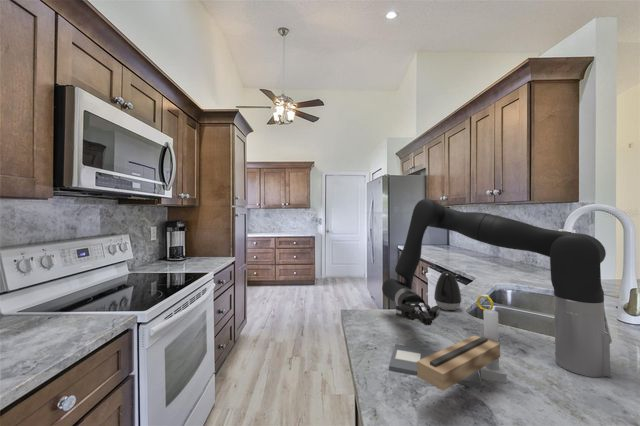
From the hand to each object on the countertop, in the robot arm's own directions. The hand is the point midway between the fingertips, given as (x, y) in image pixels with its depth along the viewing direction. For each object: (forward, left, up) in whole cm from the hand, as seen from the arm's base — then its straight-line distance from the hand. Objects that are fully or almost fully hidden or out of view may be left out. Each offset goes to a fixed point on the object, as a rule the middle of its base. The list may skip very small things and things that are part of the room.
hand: (428, 321), depth 72 cm
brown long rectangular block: (-7, +11, -5) cm, 14 cm away
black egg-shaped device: (-7, -49, -11) cm, 51 cm away
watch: (-21, -53, -11) cm, 58 cm away
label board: (-4, +1, -11) cm, 11 cm away
